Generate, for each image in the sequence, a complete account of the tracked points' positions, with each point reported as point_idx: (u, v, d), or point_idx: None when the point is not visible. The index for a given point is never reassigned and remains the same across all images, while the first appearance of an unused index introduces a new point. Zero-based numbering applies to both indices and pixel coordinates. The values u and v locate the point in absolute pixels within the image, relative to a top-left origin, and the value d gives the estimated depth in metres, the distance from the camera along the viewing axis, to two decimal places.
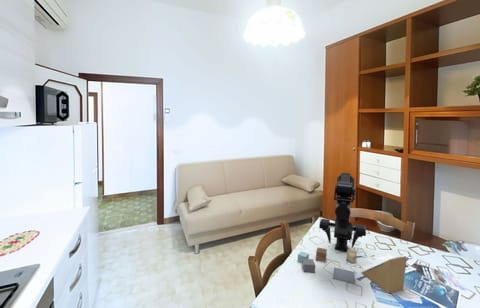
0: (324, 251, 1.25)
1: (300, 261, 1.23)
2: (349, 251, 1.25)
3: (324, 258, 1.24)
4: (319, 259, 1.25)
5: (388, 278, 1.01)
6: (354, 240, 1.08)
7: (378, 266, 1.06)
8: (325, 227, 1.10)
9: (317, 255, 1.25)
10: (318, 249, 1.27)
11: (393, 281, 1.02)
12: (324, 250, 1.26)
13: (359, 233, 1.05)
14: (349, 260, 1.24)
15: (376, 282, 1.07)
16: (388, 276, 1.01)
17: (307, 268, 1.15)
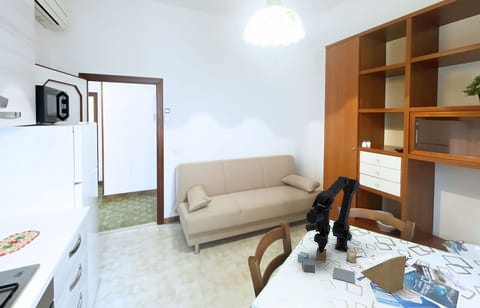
0: (324, 251, 1.25)
1: (300, 261, 1.23)
2: (349, 251, 1.25)
3: (324, 258, 1.24)
4: (319, 259, 1.25)
5: (388, 277, 1.02)
6: (318, 245, 1.22)
7: (378, 265, 1.06)
8: None
9: (317, 255, 1.25)
10: (318, 249, 1.27)
11: (393, 281, 1.02)
12: (324, 250, 1.26)
13: (314, 237, 1.20)
14: (349, 260, 1.24)
15: (376, 281, 1.07)
16: (389, 276, 1.02)
17: (307, 268, 1.15)
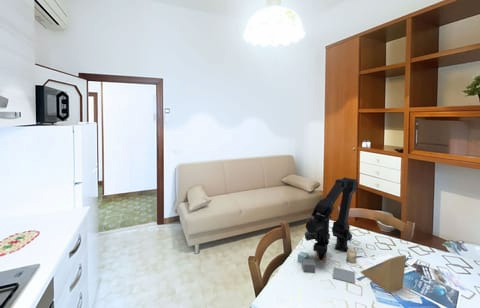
0: None
1: (300, 261, 1.23)
2: (349, 251, 1.25)
3: (324, 258, 1.24)
4: (319, 259, 1.25)
5: (388, 277, 1.02)
6: (318, 252, 1.24)
7: (378, 265, 1.07)
8: None
9: (317, 255, 1.25)
10: None
11: (393, 280, 1.03)
12: None
13: None
14: (349, 260, 1.24)
15: (376, 281, 1.08)
16: (389, 275, 1.02)
17: (307, 268, 1.15)
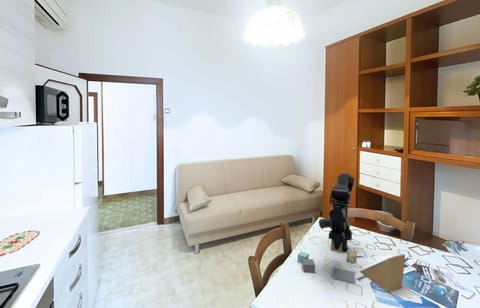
0: None
1: (300, 261, 1.23)
2: (349, 251, 1.25)
3: (340, 247, 1.13)
4: (334, 249, 1.14)
5: (388, 276, 1.02)
6: None
7: (377, 265, 1.07)
8: None
9: (332, 244, 1.15)
10: None
11: (393, 280, 1.03)
12: None
13: None
14: (349, 260, 1.24)
15: (375, 281, 1.08)
16: (388, 275, 1.02)
17: (307, 268, 1.15)
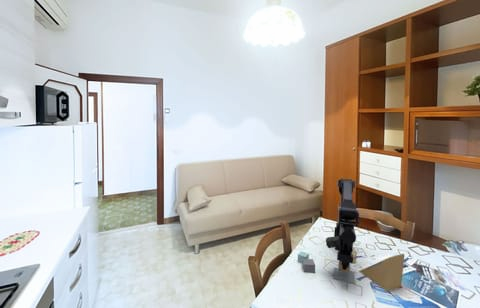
0: None
1: (300, 261, 1.23)
2: None
3: (348, 268, 1.10)
4: (342, 269, 1.11)
5: (388, 276, 1.03)
6: None
7: (377, 264, 1.07)
8: None
9: (340, 264, 1.12)
10: None
11: (392, 279, 1.04)
12: None
13: (337, 255, 1.07)
14: None
15: (375, 280, 1.08)
16: (388, 274, 1.03)
17: (307, 268, 1.15)
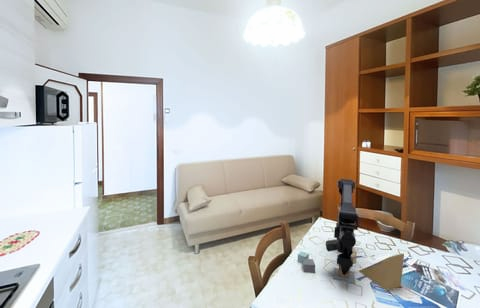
0: None
1: (300, 261, 1.23)
2: None
3: (348, 273, 1.11)
4: (342, 274, 1.12)
5: (387, 275, 1.03)
6: (341, 266, 1.09)
7: (377, 264, 1.08)
8: None
9: (340, 270, 1.12)
10: None
11: (392, 279, 1.04)
12: None
13: None
14: None
15: (375, 280, 1.09)
16: (388, 274, 1.03)
17: (307, 268, 1.15)
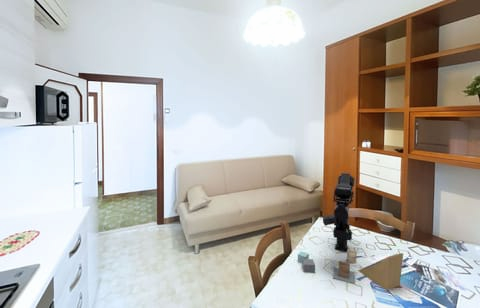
0: (347, 265, 1.12)
1: (300, 261, 1.23)
2: (349, 251, 1.25)
3: (348, 273, 1.11)
4: (342, 274, 1.12)
5: (387, 275, 1.03)
6: (337, 239, 1.16)
7: (376, 264, 1.08)
8: None
9: (340, 270, 1.12)
10: (340, 263, 1.14)
11: (391, 278, 1.04)
12: (347, 264, 1.13)
13: None
14: (349, 260, 1.24)
15: (374, 279, 1.09)
16: (387, 273, 1.03)
17: (307, 268, 1.15)
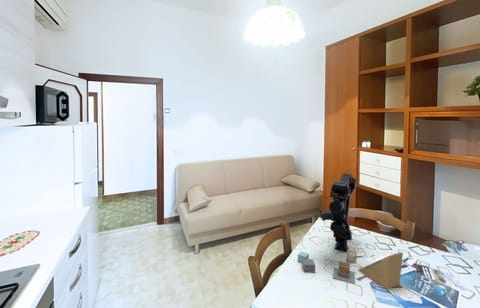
0: (347, 265, 1.12)
1: (300, 261, 1.23)
2: (349, 251, 1.25)
3: (348, 273, 1.11)
4: (342, 274, 1.12)
5: (387, 274, 1.04)
6: None
7: (376, 263, 1.08)
8: None
9: (340, 270, 1.12)
10: (340, 263, 1.14)
11: (391, 277, 1.05)
12: (347, 264, 1.13)
13: None
14: (349, 260, 1.24)
15: (374, 279, 1.09)
16: (387, 273, 1.04)
17: (307, 268, 1.15)
